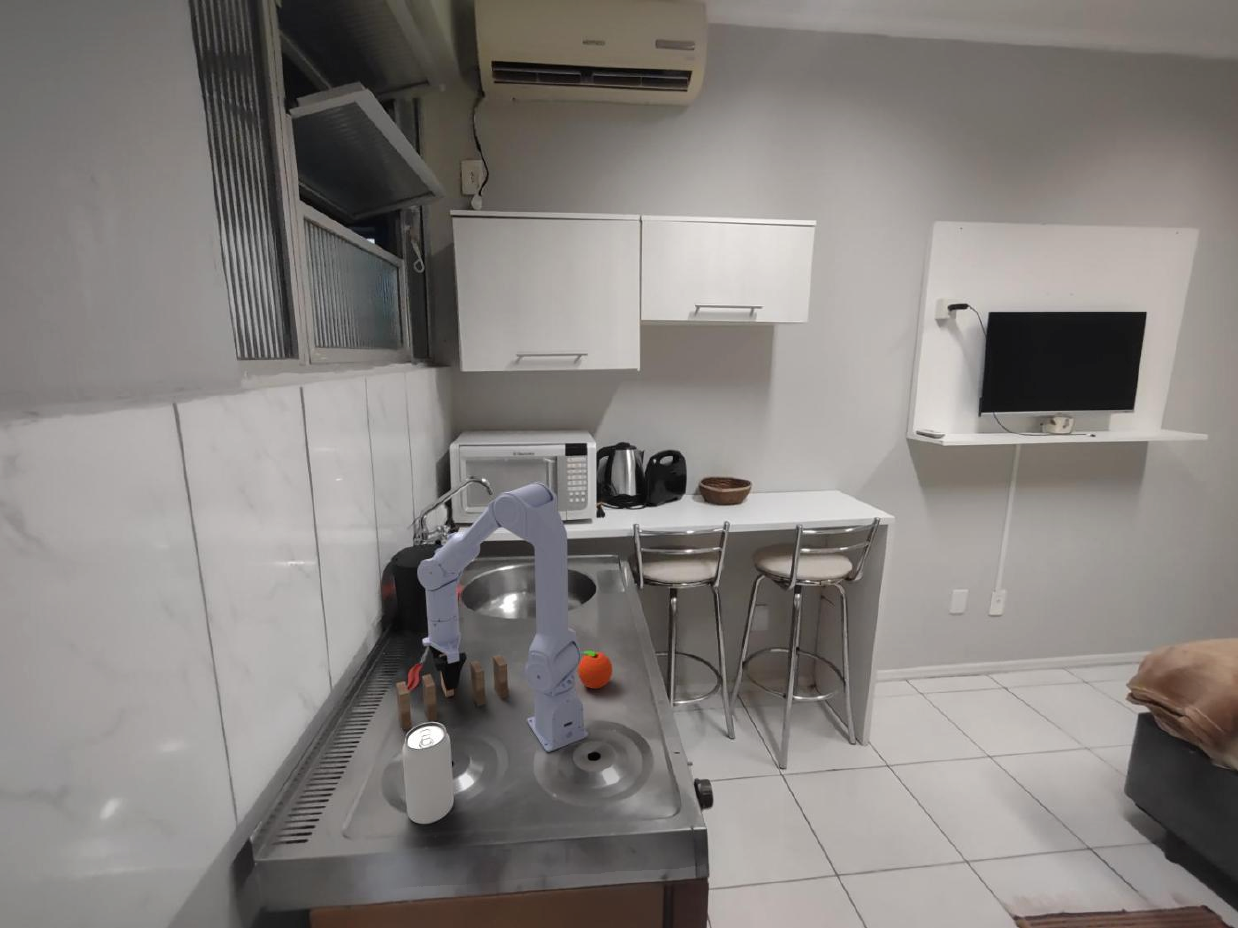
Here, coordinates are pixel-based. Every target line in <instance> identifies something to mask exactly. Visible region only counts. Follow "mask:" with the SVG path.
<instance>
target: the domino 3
mask: <svg viewBox="0 0 1238 928" xmlns="http://www.w3.org/2000/svg"><path fill="white" fill-rule="evenodd" d="M441 656H445V654H441V655H440V657H441ZM440 682H441V684H440V685H441V689H442V691H443V694H444V695H445V698H448V697H451V696H452V697H453V696H454V695H455V689H452V690H449V691H447V690H446V688H445V685H444V682H443V677H442V674H441V673H440Z"/></svg>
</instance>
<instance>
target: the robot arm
mask: <svg viewBox="0 0 1238 928" xmlns="http://www.w3.org/2000/svg"><path fill="white" fill-rule="evenodd" d="M558 505H559V504H558V495H557V494H556V493H555V492H553V490H552V489H550V488H549V486H548V485H546V484H544V483H542V482H539V481H536V482H532V483H528V485H525V486H522V487H519V488H516V489H514V490H510V491H504V492H502V493H500V494H499V495H497V496H496V498H495V499H493V500H492V501H490V502H489V503H488V506H487V507H486V509H484V511H483V512H481V514H480V515H479V517H477V519H476V520H475V521H474V522H473V524H472V525H471V526H470V527H469V528H468V529H467V530H466V531H457V532H456V531H455V532H453V533H450V534H449V535H448V536H447V538H446V539H447V540H448V541H446V543H444V545H443V546H441V547H439V548H436V550H434V553H435V554H434V555H433V557H431V558H428V559H427V558H426V559H423V560H421V561H420V564H419V565H418V567H417V579H418V581H419V583H420V585H421V586H423V588H424V589H425V600H426V602H425V603H426V618H427V627H428V628H427V630H428V635H427V636H426V637H424V638H422V645H423V646H424V647H428V648H429V649H430V652H431V655H432V658H433V662H434V665H435V668H436V671H437V672H440V675H441V674H442V677H443V682H444V685H445V688H446V690H447V691H449V690H452V689H454V690H455V689H457V688H458V686H459V683H460V678H461V677H460V676H461V673H462V669H463V667H464V665H465V663H466V662H467V656H468V655H467V654H466V652H460V651H459V647H460V642H461V637H462V636H461V634H462V633H461V632H460V621H459V619H460V618H459V605H458V604H459V603H458V602H459V601H458V587H460V583H459V581H460V578H461V577H462V575H463V571H464V569H465V568H466V567H467V566H468V565H469V564H470V563H472V561H474V560H475V559H476V558H477V557H478V556H479V554H480V552H481V544H482V543H484V541H486V540H487V538H489V537H491V536H492V534H494V533H495V531H497V530H498V529H500V528H504V529H505V530H507V531H508V532H510V533H512V534H513V535H515V536H516V537H519V538H520V539H522V540H523V541H526V542H528V543H530V544H531V545H532V546H533V549H534V580H535V581H534V583H535V585H534V586H535V615H536V616H535V624H536V626H535V627H536V633H535V636H534V638H533V639H532V643H531V645H530V647H529V650H528V660H527V662H526V664H525V666H524V677H525V678H526V683H528V684H529V686H530V687H531V689H532V690H533V696H534V697H533V699H534V700H533V701H534V704H533V705H534V715H533V716H530V717H528V718H526V722H527V724H528V726H529V727H530V729H531V730H532V732H533V733H534V735H535V737H536V738H537V740H538V741H539V743H540V745H541V746H542V747H543V749H544V750H545V752H547V753H550V752H552V751H555V750H556V749H560V748H562V747H565V746H568V745H569V744H570V745H571V744H572V743H575V742H578V741H580V740H583V739H586V738H588V737H589V732H588V731H587V730H586V728H585V726H584V705H583V702H582V700H581V699H580V698H579V696H578V694H577V692H576V691H577V690H576V679H575V676H576V667H579V663H580V661H581V659H582V658H583V656H582V655H583V653H582V650H581V648H580V647H581V646H580V645H579V642H578V638H577V637H578V636H577V635H578V633H577V632H576V631H575V630H574V629H572V628H570V627H569V591H568V590H569V582H568V581H569V580H568V577H569V575H568V574H569V573H568V533H567V529H566V527H565V524H564V521H563V519H562V517H561V514H560V511H559V509H558V507H559V506H558ZM581 653H582V654H581ZM441 654H445V656H441V657H440V655H441Z"/></svg>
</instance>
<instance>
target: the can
mask: <svg viewBox="0 0 1238 928" xmlns="http://www.w3.org/2000/svg"><path fill="white" fill-rule="evenodd" d="M402 762H403V763H402V764H403V765H402V766H403V777H404V788H405V791H404V792H405V800H406V801H405V802H406V811H407V816H408V818H409V820H411V821H412V822H414V823H417V824H419V825H429V824H433V823H437V822H438V821H440V820H441V819H443V818H445V817H446V815H447V814H448V813H450V811H451V809H452V808H453V806H454V801H455V799H454V798H455V797H454V779H453V764H452V762H453V761H452V749H451V739H450V736H449V734H448V732H447V728H446V726H445V724H443V723H440V722H435V721H431V722H429V721H428V722H424V723H420V724H417V725H416V726H414V727H412V728H410V730H409V731H408V732H407V733H406V735H405V737H404V744H403V746H402Z"/></svg>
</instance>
